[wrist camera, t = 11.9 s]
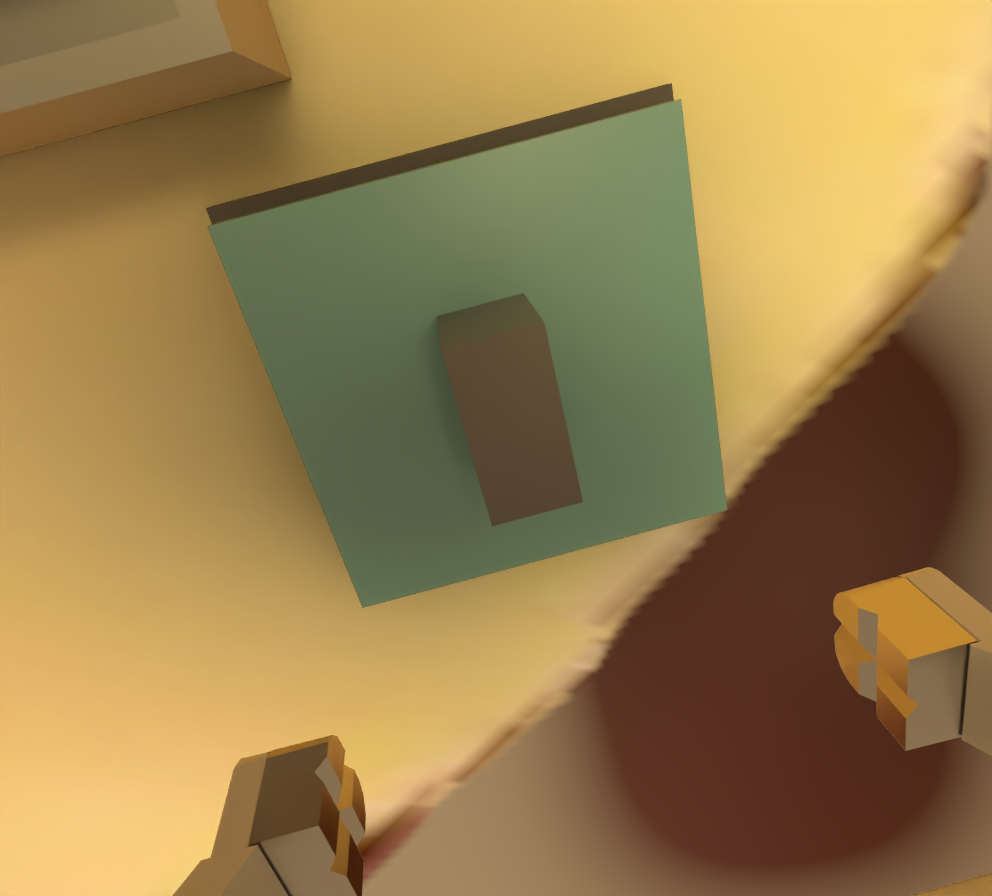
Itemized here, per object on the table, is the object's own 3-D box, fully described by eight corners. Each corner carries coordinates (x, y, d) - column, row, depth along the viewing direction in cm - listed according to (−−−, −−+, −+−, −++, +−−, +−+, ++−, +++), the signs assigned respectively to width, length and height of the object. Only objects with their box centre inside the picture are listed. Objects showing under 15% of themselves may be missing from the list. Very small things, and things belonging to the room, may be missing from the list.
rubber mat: (360, 583, 30) (359, 588, 30) (209, 207, 23) (206, 208, 23) (715, 488, 30) (719, 492, 30) (667, 84, 23) (671, 83, 23)
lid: (365, 575, 30) (355, 679, 24) (224, 218, 23) (165, 245, 18) (705, 484, 30) (774, 566, 24) (657, 102, 23) (736, 92, 18)
